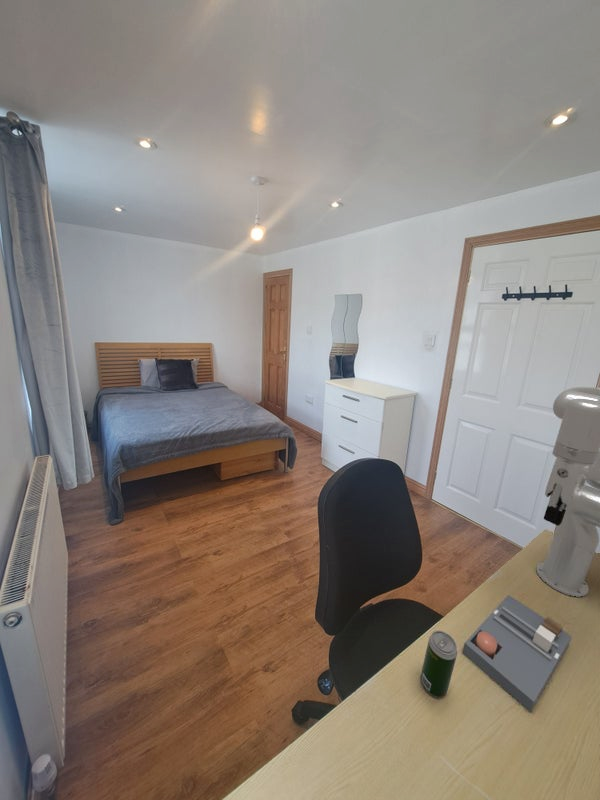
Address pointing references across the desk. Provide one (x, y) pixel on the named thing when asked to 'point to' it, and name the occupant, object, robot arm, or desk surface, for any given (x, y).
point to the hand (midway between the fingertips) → (552, 521)
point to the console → (517, 651)
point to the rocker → (552, 626)
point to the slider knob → (543, 638)
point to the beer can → (438, 663)
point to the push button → (486, 643)
